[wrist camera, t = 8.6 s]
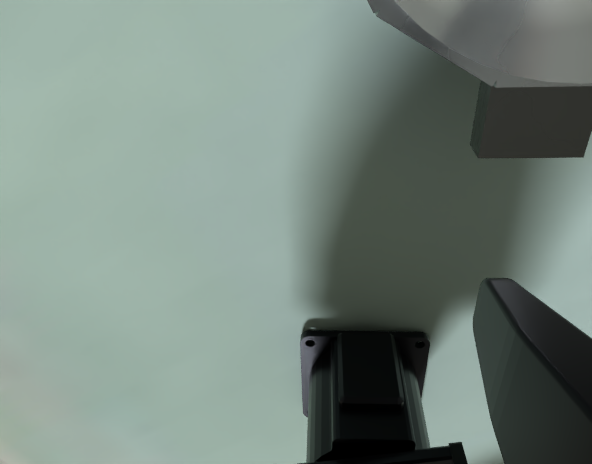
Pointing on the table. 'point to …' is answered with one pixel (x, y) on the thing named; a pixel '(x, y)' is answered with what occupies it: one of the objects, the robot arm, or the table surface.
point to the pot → (512, 103)
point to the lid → (514, 34)
